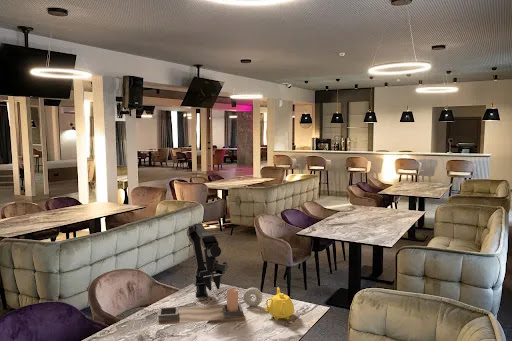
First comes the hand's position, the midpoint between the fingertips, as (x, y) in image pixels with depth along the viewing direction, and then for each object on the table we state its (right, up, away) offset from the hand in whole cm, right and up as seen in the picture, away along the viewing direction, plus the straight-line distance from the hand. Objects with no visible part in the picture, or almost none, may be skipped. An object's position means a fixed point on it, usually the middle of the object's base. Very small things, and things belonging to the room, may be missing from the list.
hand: (214, 289), depth 210 cm
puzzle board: (-6, -11, -6) cm, 14 cm away
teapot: (+33, -12, -6) cm, 35 cm away
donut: (+20, -10, +6) cm, 23 cm away
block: (+10, -10, -7) cm, 15 cm away
